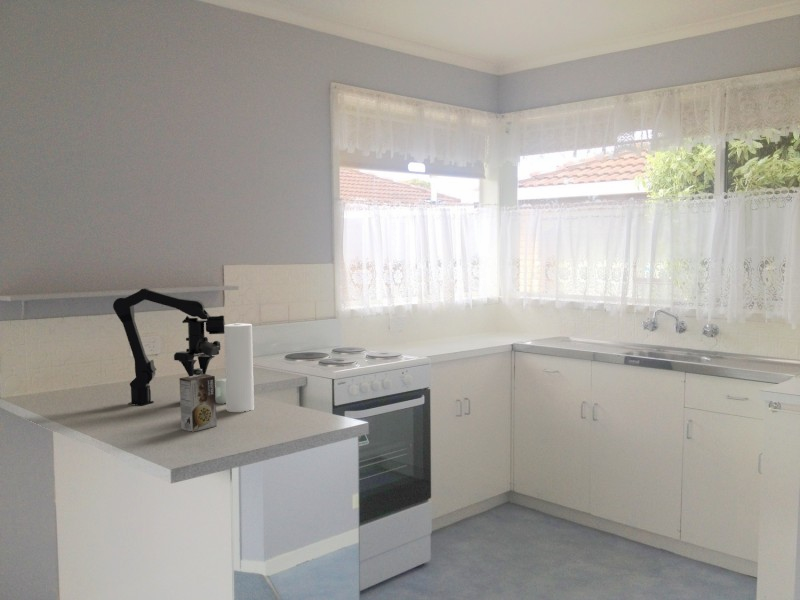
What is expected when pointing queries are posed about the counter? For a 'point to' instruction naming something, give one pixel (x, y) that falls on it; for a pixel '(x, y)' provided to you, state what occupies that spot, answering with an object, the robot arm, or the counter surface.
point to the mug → (220, 391)
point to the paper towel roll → (239, 367)
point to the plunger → (198, 371)
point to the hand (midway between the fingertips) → (197, 376)
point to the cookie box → (198, 402)
